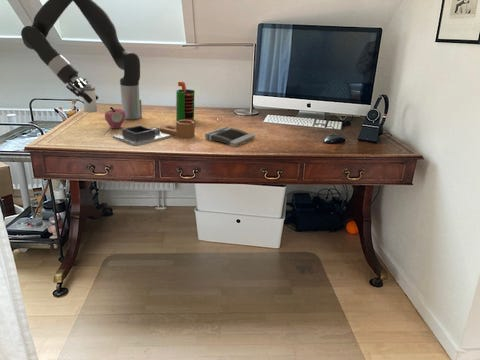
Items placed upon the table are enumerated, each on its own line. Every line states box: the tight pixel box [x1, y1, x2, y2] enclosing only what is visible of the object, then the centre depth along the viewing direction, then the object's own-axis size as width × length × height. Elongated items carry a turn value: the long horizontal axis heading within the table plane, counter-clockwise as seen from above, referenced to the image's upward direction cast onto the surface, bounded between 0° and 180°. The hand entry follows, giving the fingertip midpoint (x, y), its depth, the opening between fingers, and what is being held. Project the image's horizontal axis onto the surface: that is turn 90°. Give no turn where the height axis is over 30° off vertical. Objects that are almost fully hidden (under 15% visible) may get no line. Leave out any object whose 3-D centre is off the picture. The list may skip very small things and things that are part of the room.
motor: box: [175, 81, 195, 122], centre depth 202 cm, size 10×9×20 cm
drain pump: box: [82, 82, 98, 114], centre depth 164 cm, size 5×5×12 cm
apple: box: [104, 106, 126, 129], centre depth 185 cm, size 10×9×10 cm
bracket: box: [159, 120, 196, 140], centre depth 181 cm, size 18×8×7 cm, turn 61°
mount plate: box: [112, 125, 173, 147], centre depth 174 cm, size 20×16×4 cm
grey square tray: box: [204, 125, 255, 147], centre depth 179 cm, size 17×5×16 cm
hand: (94, 100), depth 164 cm, fingers closed on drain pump, 5 cm apart
